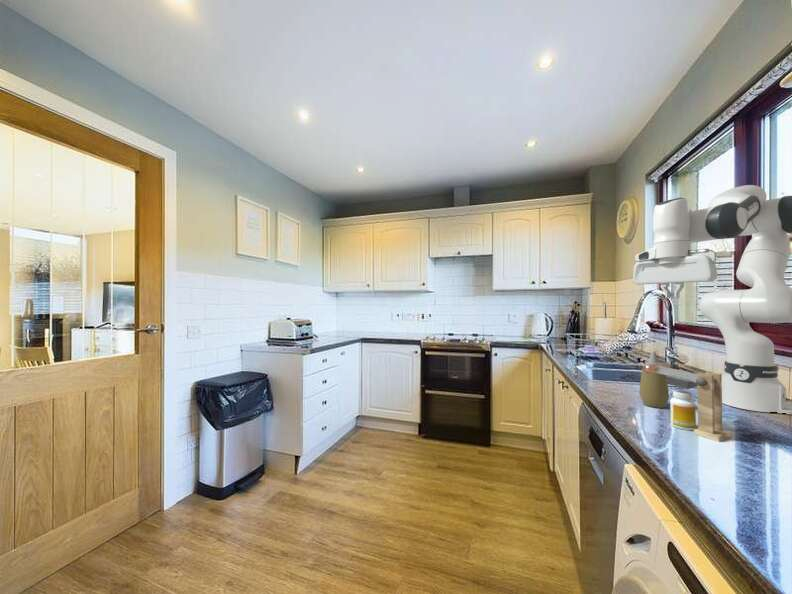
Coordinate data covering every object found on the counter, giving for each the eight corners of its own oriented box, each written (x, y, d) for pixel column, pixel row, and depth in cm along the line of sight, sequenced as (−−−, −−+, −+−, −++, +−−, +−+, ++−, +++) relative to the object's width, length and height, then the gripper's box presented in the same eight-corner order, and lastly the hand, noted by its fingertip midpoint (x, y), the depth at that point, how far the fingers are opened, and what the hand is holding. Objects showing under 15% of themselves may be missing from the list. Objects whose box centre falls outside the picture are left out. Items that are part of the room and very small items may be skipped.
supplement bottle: (700, 431, 90) (700, 395, 90) (678, 430, 91) (677, 394, 91) (687, 424, 95) (687, 390, 95) (666, 422, 96) (665, 389, 96)
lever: (661, 374, 103) (662, 361, 103) (723, 390, 90) (724, 375, 90) (642, 377, 99) (643, 364, 99) (703, 394, 86) (705, 379, 86)
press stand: (707, 429, 91) (706, 371, 91) (732, 436, 86) (730, 374, 86) (693, 434, 88) (692, 373, 88) (718, 441, 83) (717, 377, 83)
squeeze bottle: (633, 401, 116) (632, 350, 116) (657, 402, 116) (656, 350, 116) (650, 409, 108) (649, 354, 108) (676, 409, 108) (675, 354, 108)
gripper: (721, 248, 92) (722, 297, 92) (641, 257, 111) (642, 298, 111) (709, 246, 89) (710, 298, 89) (629, 256, 108) (630, 298, 108)
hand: (672, 298), depth 100 cm, fingers closed
